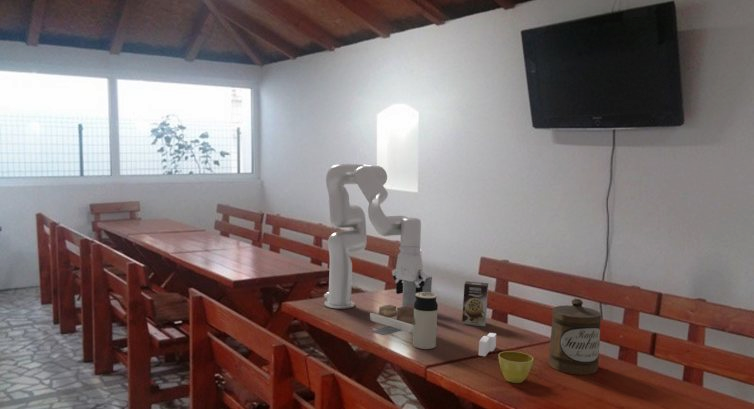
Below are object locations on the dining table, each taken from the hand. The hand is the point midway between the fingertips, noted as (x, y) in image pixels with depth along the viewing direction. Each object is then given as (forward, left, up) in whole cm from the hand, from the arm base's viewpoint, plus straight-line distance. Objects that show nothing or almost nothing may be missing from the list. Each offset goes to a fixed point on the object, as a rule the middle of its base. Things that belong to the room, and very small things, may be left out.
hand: (409, 295), depth 236 cm
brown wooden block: (-1, 0, -12) cm, 12 cm away
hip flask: (-8, +14, -12) cm, 20 cm away
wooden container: (+64, +7, -12) cm, 65 cm away
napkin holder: (+37, -1, -13) cm, 39 cm away
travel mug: (+20, -14, -12) cm, 27 cm away
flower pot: (+58, -18, -12) cm, 62 cm away
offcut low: (-11, 0, -12) cm, 16 cm away
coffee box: (+14, +24, -12) cm, 30 cm away
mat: (0, -11, -12) cm, 17 cm away
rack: (-3, 0, -12) cm, 12 cm away
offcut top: (-11, +1, -9) cm, 14 cm away
